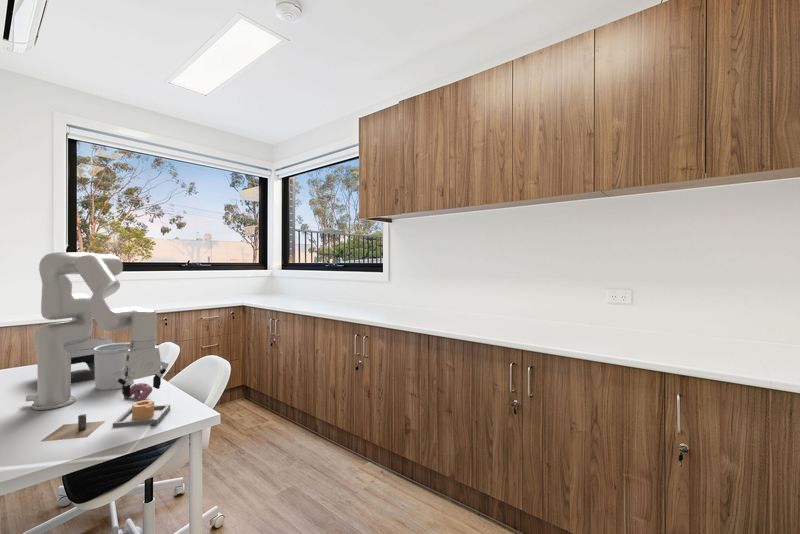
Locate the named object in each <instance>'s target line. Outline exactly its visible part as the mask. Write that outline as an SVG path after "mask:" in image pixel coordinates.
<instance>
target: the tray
mask: <svg viewBox="0 0 800 534" xmlns="http://www.w3.org/2000/svg"><path fill="white" fill-rule="evenodd" d="M157 410H161V411H160V412H159V413H158V414H157V416H156V417H155V418H148V419H145V420H126V421H124V420H125V419H126V418H128V417H129V416H130V414H131V415H132V406H130V407H129V408H128V409H127V410H126V411H125V412H124V413H123V414H121V415H120V416H119V417H118V418H117V419H116V420H115V421H114V422H113V423H112V428H119V427H120V428H121V427H130V426H140V425H142V426H143V425H149V426H150V427H153V426H158V425H159V424H160V422H161V421H162V420H163V419H164V417H165V416H166V415H167V414H168V411H169V412H170V410H171V404H157V405H156V404H154V411H157Z"/></svg>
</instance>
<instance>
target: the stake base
mask: <svg viewBox="0 0 800 534" xmlns="http://www.w3.org/2000/svg"><path fill="white" fill-rule="evenodd" d="M77 420H78V421H77V422H78V423H67V424H66V423H65V424H63V425H61V426H59V427H58V428H57V429H55V430H54V431H53V432H52V433H49V434H48V435H47V436H45V438H43V439H41V440H40V441H39V442H49V441H59V440H72V439H80V438H83V439H84V438H88V437H89V436H90V435H91V434H92V433H94V432H95V431H96V430H97V429H98V428H100V427H101V426H102V425H103V424H104V423H105V422H106V420H101V421H88V422H87V414H86V413H82V414H79V415H78V417H77Z"/></svg>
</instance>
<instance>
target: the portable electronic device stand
mask: <svg viewBox="0 0 800 534" xmlns="http://www.w3.org/2000/svg"><path fill="white" fill-rule="evenodd" d="M113 343H115V341H114V340H112V339H111V338H109V337H108V336H105V337H99V338H89V339H88V340H87V341H85V342H81V343H76V344H71V345H67V346H64V349H65V350H66V351H67V352H68V353H69V354H70V357H71V365H77V364H81V363H84V364H86V366H87V367H88V369H86V368H85V369H77V370H71V383H72V384H76V383H81V382H87V381H93V380H95V362H94V351H93V349H94V348H95V347H98V346H101V345H106V344H113Z"/></svg>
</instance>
